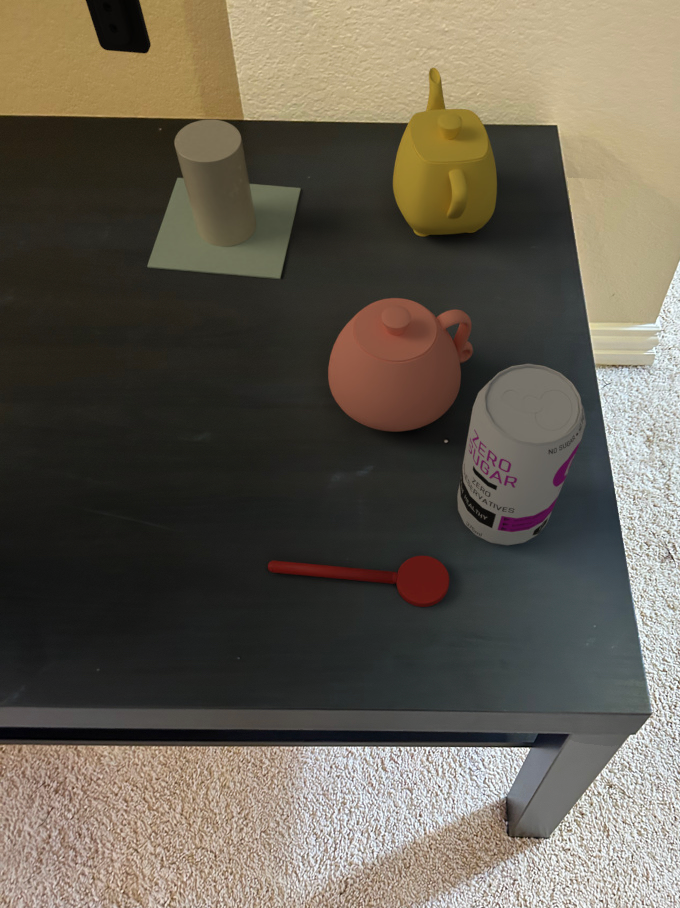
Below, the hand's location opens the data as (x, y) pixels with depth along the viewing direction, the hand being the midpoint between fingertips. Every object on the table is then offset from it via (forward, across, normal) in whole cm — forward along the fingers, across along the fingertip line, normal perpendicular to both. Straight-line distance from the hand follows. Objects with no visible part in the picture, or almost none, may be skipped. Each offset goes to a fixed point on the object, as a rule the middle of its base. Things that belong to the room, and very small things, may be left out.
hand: (145, 7), depth 51 cm
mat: (+28, -12, -2) cm, 31 cm away
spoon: (+28, +28, +17) cm, 43 cm away
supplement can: (+28, +20, +29) cm, 45 cm away
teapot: (+28, -18, +21) cm, 40 cm away
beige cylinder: (+28, -12, -2) cm, 31 cm away
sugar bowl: (+28, +8, +19) cm, 35 cm away
